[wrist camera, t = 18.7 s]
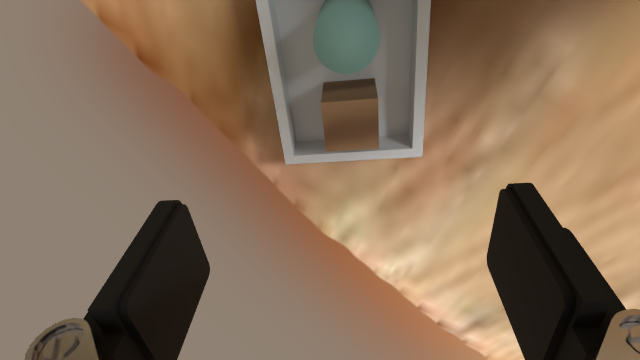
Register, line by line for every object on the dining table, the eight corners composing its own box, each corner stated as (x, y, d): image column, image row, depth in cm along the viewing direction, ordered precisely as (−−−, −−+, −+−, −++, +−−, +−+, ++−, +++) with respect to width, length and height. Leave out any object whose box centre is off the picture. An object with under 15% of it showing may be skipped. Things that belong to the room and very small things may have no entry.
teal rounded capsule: (316, -10, 33) (310, 6, 27) (375, -13, 33) (381, 3, 27) (320, 49, 36) (315, 75, 30) (373, 47, 36) (379, 72, 30)
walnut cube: (323, 82, 38) (320, 102, 34) (374, 78, 37) (378, 98, 33) (328, 127, 41) (326, 151, 36) (375, 124, 40) (379, 148, 36)
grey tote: (258, -35, 33) (250, -30, 30) (425, -54, 31) (433, -51, 28) (289, 147, 43) (285, 164, 40) (417, 139, 41) (422, 156, 39)
